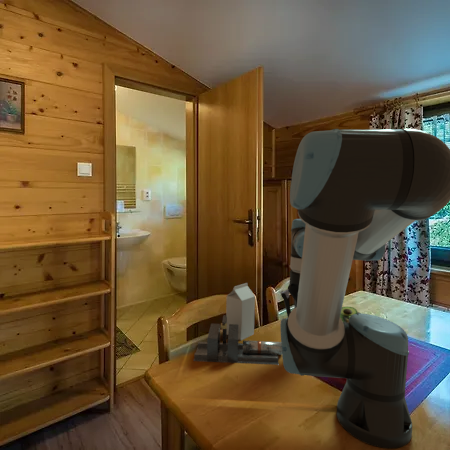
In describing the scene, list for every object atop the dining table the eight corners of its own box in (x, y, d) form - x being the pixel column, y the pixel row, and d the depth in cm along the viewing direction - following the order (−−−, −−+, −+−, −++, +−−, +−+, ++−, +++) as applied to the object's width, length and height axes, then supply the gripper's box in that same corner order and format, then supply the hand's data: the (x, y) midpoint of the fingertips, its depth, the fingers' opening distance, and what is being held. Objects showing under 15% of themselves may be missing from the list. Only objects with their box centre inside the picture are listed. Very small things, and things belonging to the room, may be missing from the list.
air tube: (280, 351, 100) (281, 339, 99) (282, 357, 96) (282, 345, 96) (242, 349, 100) (242, 338, 100) (242, 355, 97) (242, 343, 96)
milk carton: (254, 337, 112) (255, 284, 111) (241, 343, 107) (242, 289, 105) (238, 331, 117) (239, 280, 115) (225, 337, 112) (226, 284, 110)
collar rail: (278, 368, 92) (279, 332, 91) (193, 364, 94) (193, 329, 93) (274, 348, 104) (275, 316, 103) (199, 345, 105) (199, 314, 104)
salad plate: (389, 332, 119) (390, 320, 118) (348, 337, 114) (349, 325, 113) (354, 314, 137) (355, 303, 137) (318, 317, 132) (319, 306, 132)
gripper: (321, 267, 98) (318, 340, 101) (279, 266, 99) (277, 338, 102) (328, 274, 91) (324, 352, 94) (282, 273, 92) (279, 350, 94)
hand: (299, 345), depth 98 cm, fingers closed
